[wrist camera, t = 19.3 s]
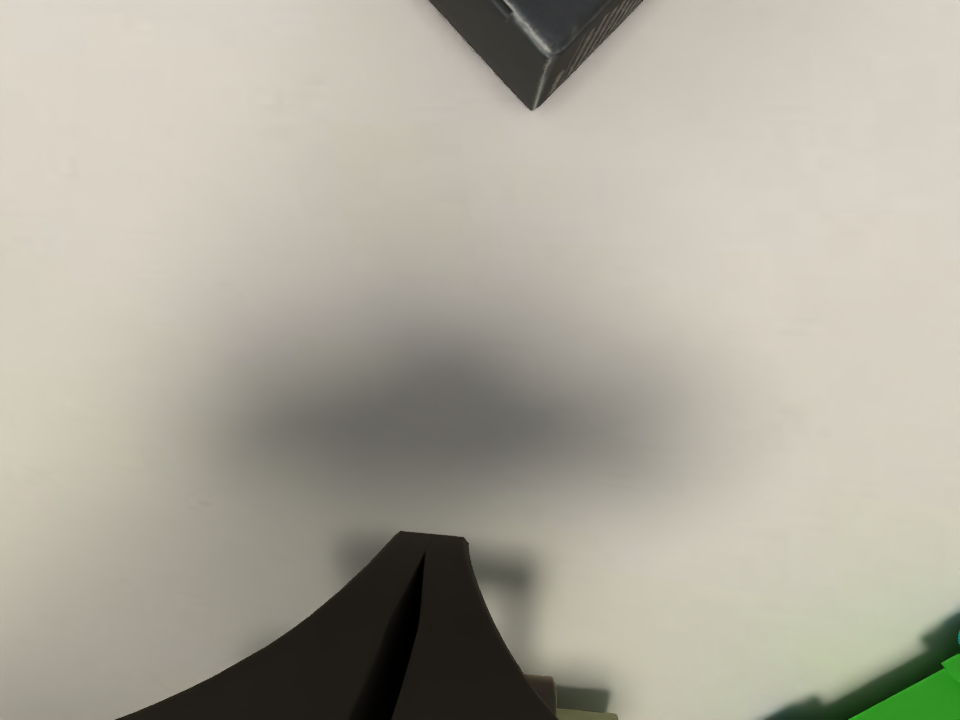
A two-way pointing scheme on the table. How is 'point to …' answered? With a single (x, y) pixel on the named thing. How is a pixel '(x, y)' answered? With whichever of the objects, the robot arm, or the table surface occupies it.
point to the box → (535, 37)
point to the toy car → (923, 698)
